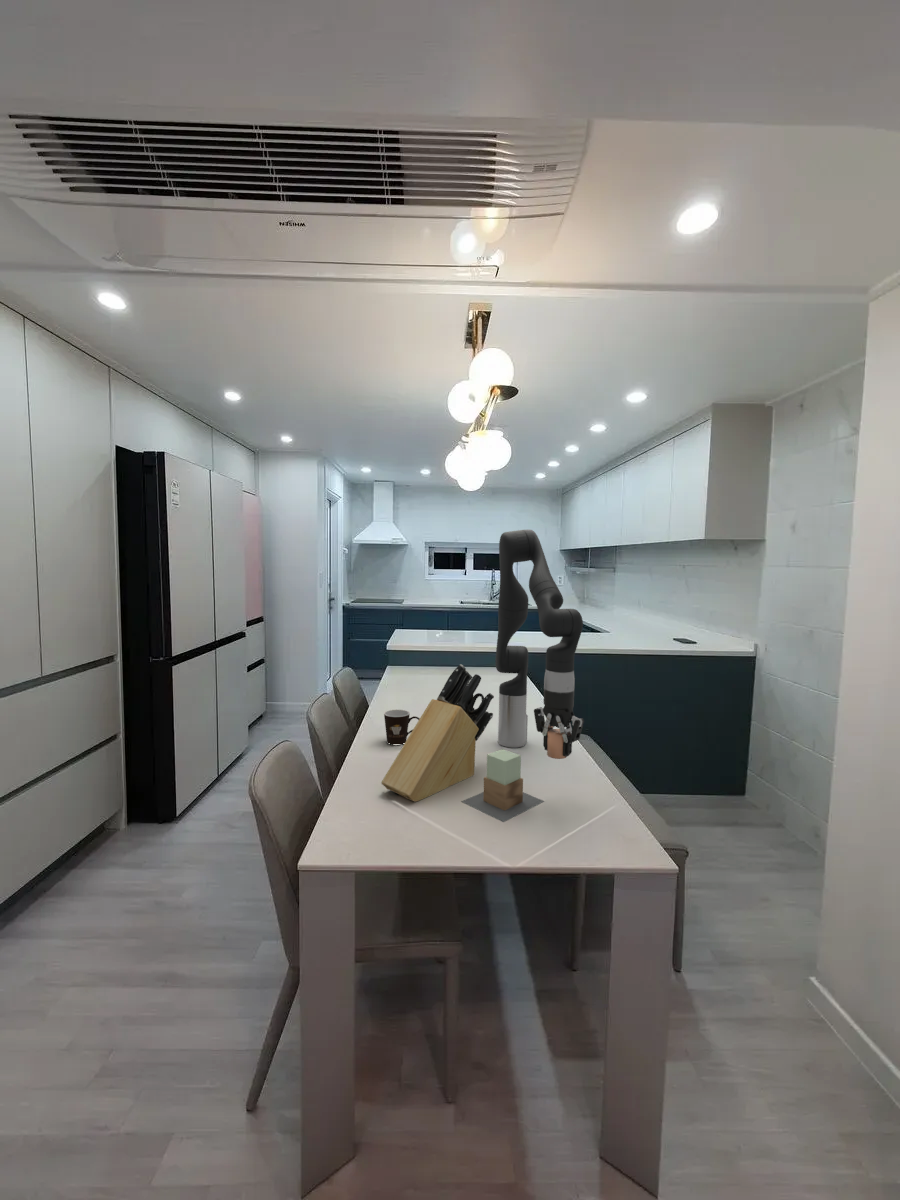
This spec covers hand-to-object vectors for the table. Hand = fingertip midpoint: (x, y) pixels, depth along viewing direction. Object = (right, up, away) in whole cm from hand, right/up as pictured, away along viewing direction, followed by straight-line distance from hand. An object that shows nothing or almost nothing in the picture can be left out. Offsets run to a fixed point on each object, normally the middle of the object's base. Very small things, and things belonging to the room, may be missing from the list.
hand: (556, 752), depth 132 cm
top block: (-14, -6, -2) cm, 15 cm away
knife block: (-30, -12, +13) cm, 34 cm away
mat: (-14, -12, -1) cm, 19 cm away
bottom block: (-14, -12, -1) cm, 18 cm away
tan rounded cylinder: (0, -1, 0) cm, 1 cm away
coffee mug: (-44, -9, +42) cm, 62 cm away
